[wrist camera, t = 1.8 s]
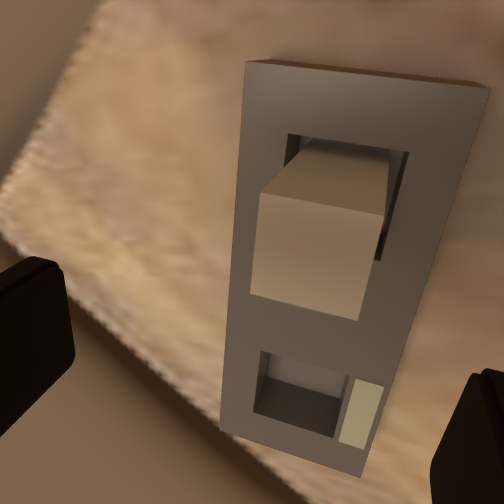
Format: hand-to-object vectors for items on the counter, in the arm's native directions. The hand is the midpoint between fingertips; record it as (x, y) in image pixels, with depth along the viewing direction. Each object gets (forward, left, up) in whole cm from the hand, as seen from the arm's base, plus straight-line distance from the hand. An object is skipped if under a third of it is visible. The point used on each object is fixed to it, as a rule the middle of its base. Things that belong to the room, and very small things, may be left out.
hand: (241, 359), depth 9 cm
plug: (-1, 0, -16) cm, 16 cm away
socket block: (-1, +7, -16) cm, 17 cm away
